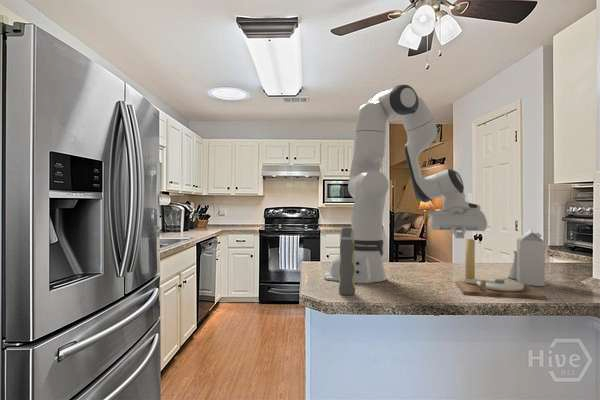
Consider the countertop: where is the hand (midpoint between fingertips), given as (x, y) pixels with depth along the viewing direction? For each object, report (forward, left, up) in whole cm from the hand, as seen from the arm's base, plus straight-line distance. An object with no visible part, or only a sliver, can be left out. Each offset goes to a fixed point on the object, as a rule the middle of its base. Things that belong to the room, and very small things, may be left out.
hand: (459, 237), depth 139 cm
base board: (+7, -21, -15) cm, 27 cm away
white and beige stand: (+7, -19, -14) cm, 24 cm away
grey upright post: (-38, -37, -15) cm, 55 cm away
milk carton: (+21, -6, -15) cm, 27 cm away
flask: (+20, +3, -15) cm, 26 cm away
